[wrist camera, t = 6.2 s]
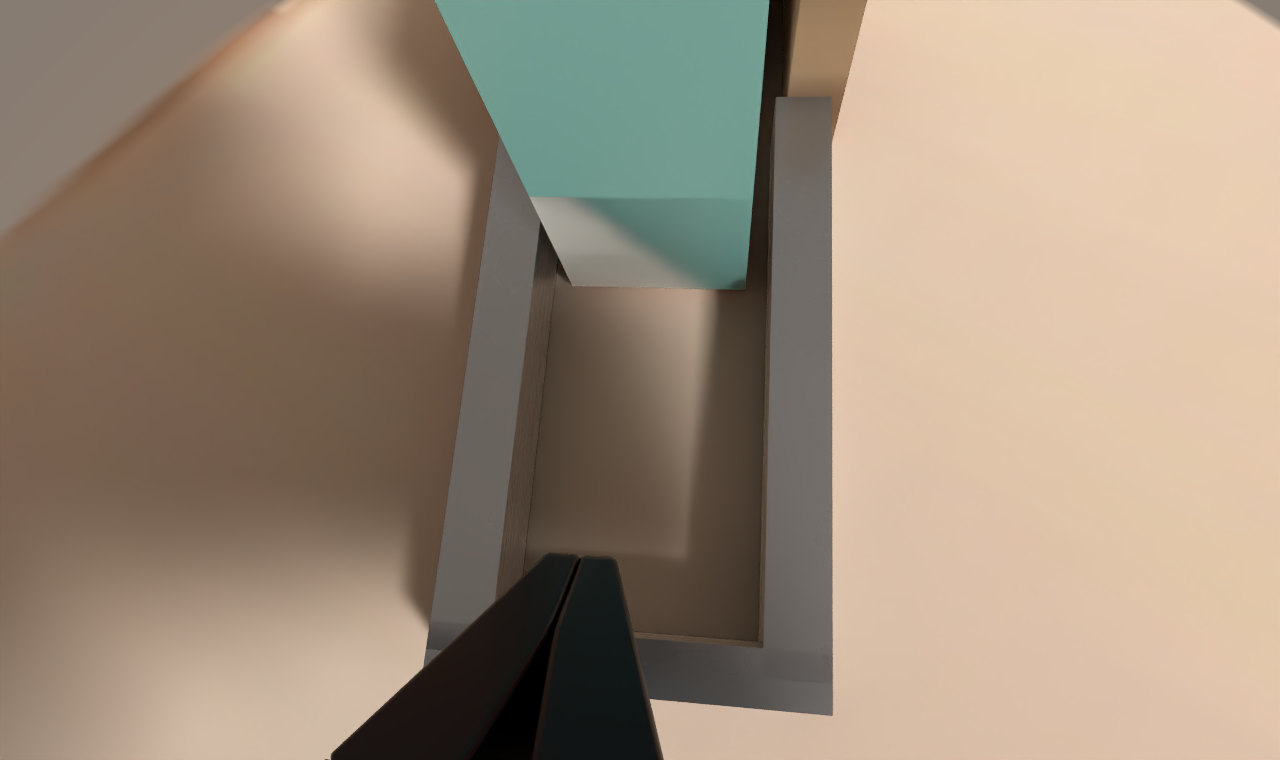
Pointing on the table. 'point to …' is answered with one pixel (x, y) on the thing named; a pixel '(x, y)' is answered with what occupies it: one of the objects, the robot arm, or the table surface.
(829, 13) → the socket
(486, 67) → the teal block
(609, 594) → the robot arm
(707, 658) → the rails
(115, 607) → the table surface
